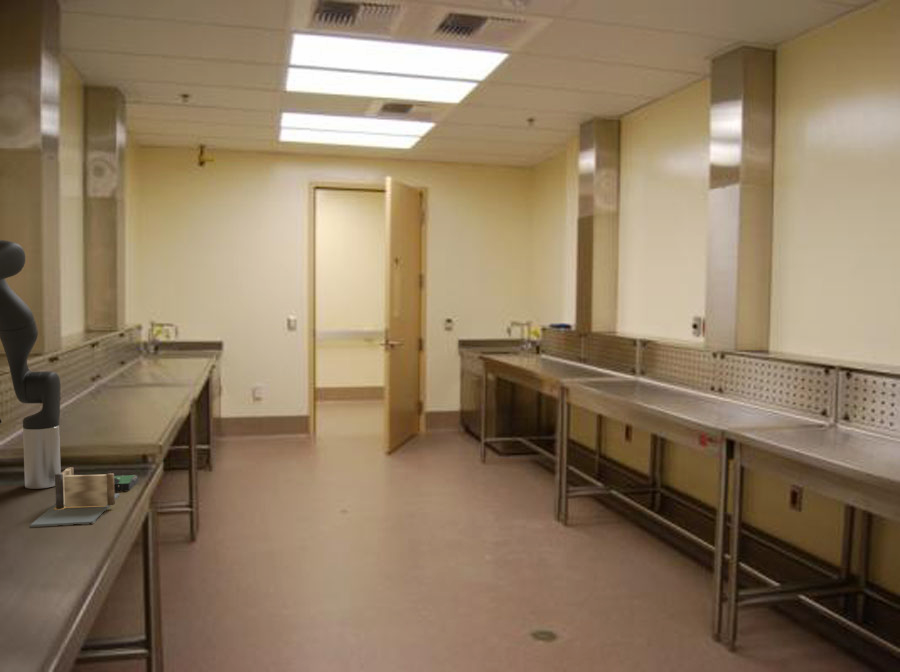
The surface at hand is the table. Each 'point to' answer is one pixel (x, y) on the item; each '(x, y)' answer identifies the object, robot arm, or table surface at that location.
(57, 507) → the fixed fence section
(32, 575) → the table surface
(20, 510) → the table surface
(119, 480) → the disk drive
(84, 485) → the hinged fence panel
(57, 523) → the board
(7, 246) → the robot arm
